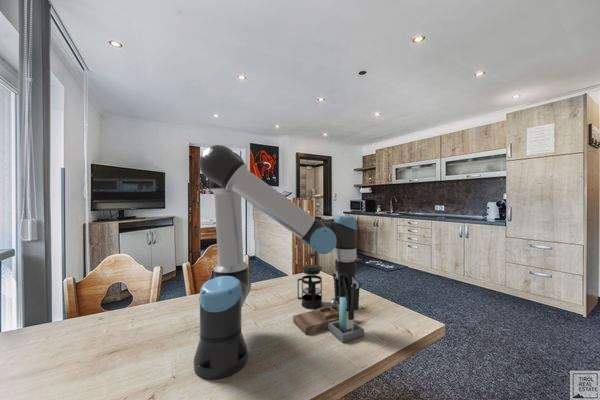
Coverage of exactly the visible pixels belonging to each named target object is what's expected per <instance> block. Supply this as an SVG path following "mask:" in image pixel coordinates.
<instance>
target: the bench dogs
mask: <svg viewBox="0 0 600 400" xmlns="http://www.w3.org/2000/svg"><path fill="white" fill-rule="evenodd" d="M330 307H332V308H333V309H335V310H336V311H338V312H339V304H338V301H336V300H335V297H334V298H331V299H330Z"/></svg>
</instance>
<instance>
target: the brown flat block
mask: <svg viewBox="0 0 600 400" xmlns="http://www.w3.org/2000/svg"><path fill="white" fill-rule="evenodd" d="M338 320H339V312H338V311H336V310H335V309H333V308H332V307H331V305H329V306H325V307H323V306H322V307H320V308H318V309H313V310H311V311H307V312H302V313H299V314H295V315H292V321H293V322H292V323H293V324H294V325H295V326H296V327H297V328H298V329H299V330H300V331H301V332H302V333H303V334H304V335H305V336H306V335H310V334H313V333H317V332H319V331H324V330H326V329H327V330H328V323H331V322H335V321H338Z"/></svg>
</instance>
